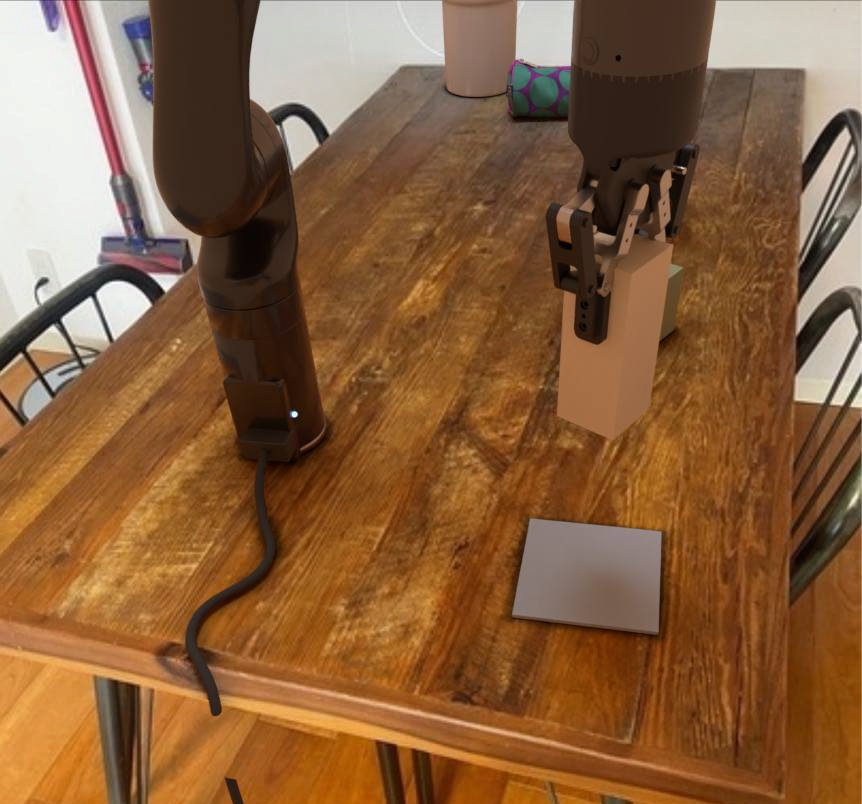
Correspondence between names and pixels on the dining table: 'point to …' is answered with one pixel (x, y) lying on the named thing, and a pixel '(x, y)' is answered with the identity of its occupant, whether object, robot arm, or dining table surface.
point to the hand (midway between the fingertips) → (613, 321)
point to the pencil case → (538, 90)
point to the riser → (671, 300)
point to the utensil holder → (479, 45)
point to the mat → (590, 576)
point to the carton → (616, 344)
